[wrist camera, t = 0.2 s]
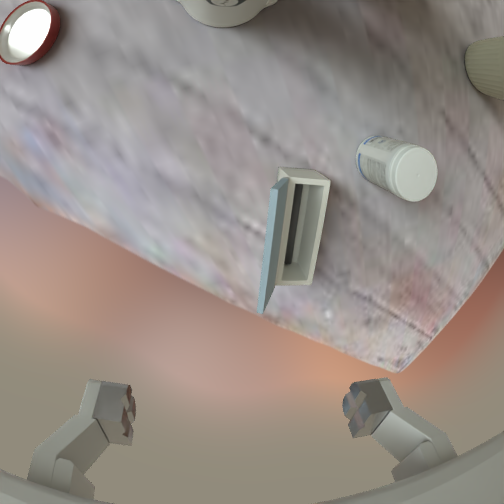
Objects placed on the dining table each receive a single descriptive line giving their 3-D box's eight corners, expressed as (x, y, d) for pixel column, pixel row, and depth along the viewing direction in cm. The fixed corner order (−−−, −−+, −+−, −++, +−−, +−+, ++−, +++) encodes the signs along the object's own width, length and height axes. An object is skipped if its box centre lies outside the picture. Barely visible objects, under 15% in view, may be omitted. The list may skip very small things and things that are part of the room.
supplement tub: (383, 186, 59) (424, 211, 46) (346, 171, 57) (385, 193, 44) (399, 145, 55) (445, 161, 43) (364, 126, 53) (408, 137, 40)
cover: (289, 177, 47) (283, 176, 47) (278, 189, 40) (270, 188, 40) (275, 286, 56) (269, 285, 56) (262, 313, 49) (256, 312, 49)
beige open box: (278, 166, 55) (290, 177, 48) (314, 169, 56) (330, 180, 49) (267, 264, 63) (275, 285, 56) (299, 264, 65) (311, 284, 58)
